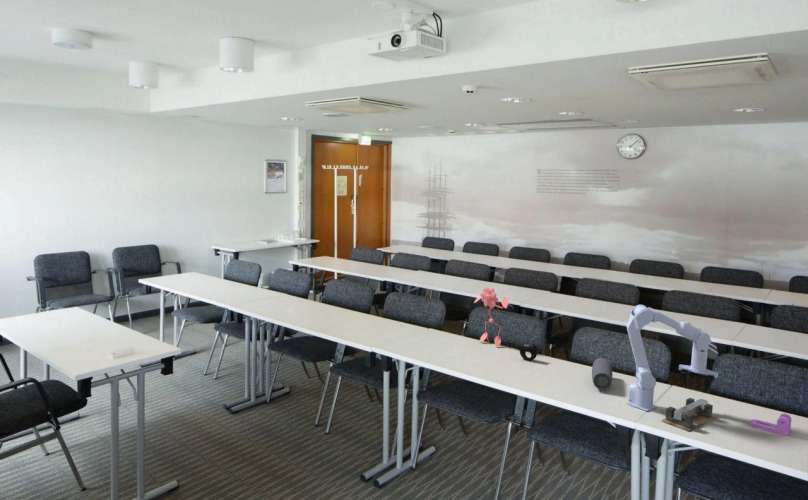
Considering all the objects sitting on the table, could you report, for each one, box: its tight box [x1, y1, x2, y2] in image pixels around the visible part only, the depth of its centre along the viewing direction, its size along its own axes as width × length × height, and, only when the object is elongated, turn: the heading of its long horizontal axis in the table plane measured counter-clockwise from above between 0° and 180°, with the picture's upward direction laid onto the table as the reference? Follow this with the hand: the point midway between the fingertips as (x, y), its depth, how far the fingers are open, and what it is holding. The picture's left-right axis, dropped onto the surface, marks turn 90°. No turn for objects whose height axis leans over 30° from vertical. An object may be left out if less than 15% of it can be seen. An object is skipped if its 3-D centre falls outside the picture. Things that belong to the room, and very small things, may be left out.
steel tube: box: [674, 398, 709, 421], centre depth 224 cm, size 3×22×3 cm, turn 126°
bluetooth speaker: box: [591, 357, 614, 391], centre depth 261 cm, size 23×9×10 cm, turn 161°
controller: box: [515, 342, 539, 362], centre depth 295 cm, size 4×12×10 cm, turn 53°
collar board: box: [661, 397, 716, 433], centre depth 224 cm, size 11×22×6 cm, turn 126°
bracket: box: [749, 413, 792, 437], centre depth 217 cm, size 13×6×7 cm, turn 46°
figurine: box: [473, 286, 509, 348], centre depth 317 cm, size 15×26×35 cm, turn 40°
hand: (696, 389), depth 232 cm, fingers open, 7 cm apart
